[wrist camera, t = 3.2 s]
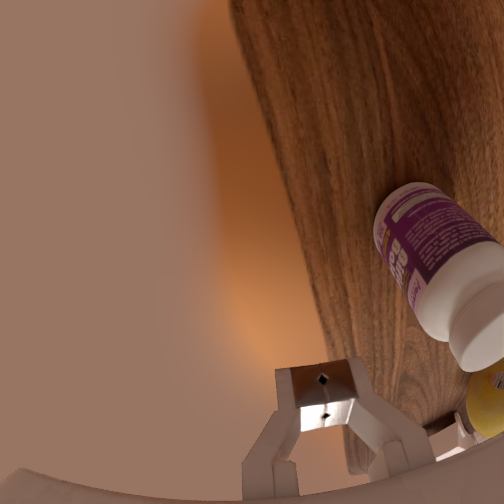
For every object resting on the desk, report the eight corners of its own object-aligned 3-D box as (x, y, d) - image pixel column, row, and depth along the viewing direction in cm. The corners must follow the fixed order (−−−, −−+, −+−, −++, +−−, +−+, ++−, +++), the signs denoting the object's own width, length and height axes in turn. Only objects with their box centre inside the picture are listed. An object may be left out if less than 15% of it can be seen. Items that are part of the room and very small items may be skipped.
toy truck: (474, 433, 44) (487, 468, 36) (445, 450, 46) (456, 485, 39) (454, 407, 33) (474, 461, 26) (411, 432, 36) (427, 485, 28)
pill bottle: (352, 218, 17) (429, 355, 9) (423, 161, 15) (544, 261, 7) (394, 272, 19) (459, 395, 11) (456, 224, 17) (545, 328, 9)
